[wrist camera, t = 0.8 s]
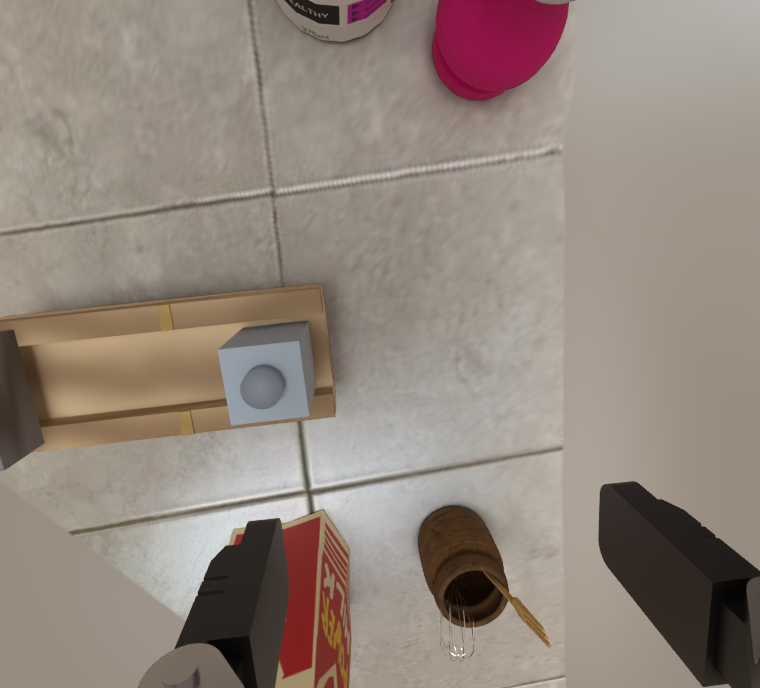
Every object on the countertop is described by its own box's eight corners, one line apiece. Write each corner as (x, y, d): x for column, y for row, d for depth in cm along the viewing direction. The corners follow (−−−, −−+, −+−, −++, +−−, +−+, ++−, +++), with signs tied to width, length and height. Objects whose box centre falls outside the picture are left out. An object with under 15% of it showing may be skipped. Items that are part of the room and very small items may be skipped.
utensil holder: (404, 521, 39) (430, 642, 27) (475, 490, 39) (532, 599, 27) (431, 577, 40) (466, 716, 29) (500, 548, 40) (563, 676, 29)
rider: (243, 327, 29) (211, 354, 23) (308, 320, 30) (296, 345, 23) (253, 389, 30) (226, 433, 23) (316, 382, 30) (307, 423, 24)
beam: (37, 309, 33) (-89, 338, 24) (323, 279, 34) (315, 295, 25) (66, 418, 35) (-42, 486, 25) (337, 387, 36) (334, 441, 26)
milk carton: (257, 624, 40) (173, 988, 21) (227, 529, 38) (104, 834, 19) (363, 601, 40) (380, 939, 21) (340, 504, 38) (335, 780, 19)
